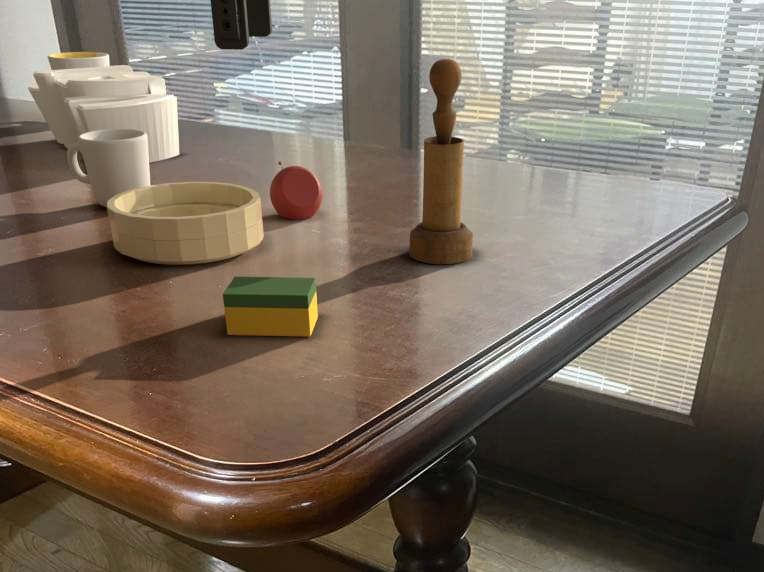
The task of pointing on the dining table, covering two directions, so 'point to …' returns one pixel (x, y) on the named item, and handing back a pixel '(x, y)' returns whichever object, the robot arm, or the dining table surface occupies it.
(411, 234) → the mortar and pestle
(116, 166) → the cup
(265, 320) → the sponge
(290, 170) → the fruit
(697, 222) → the dining table surface
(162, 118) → the white wavy slab sculpture
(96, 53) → the mug
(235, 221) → the bowl
